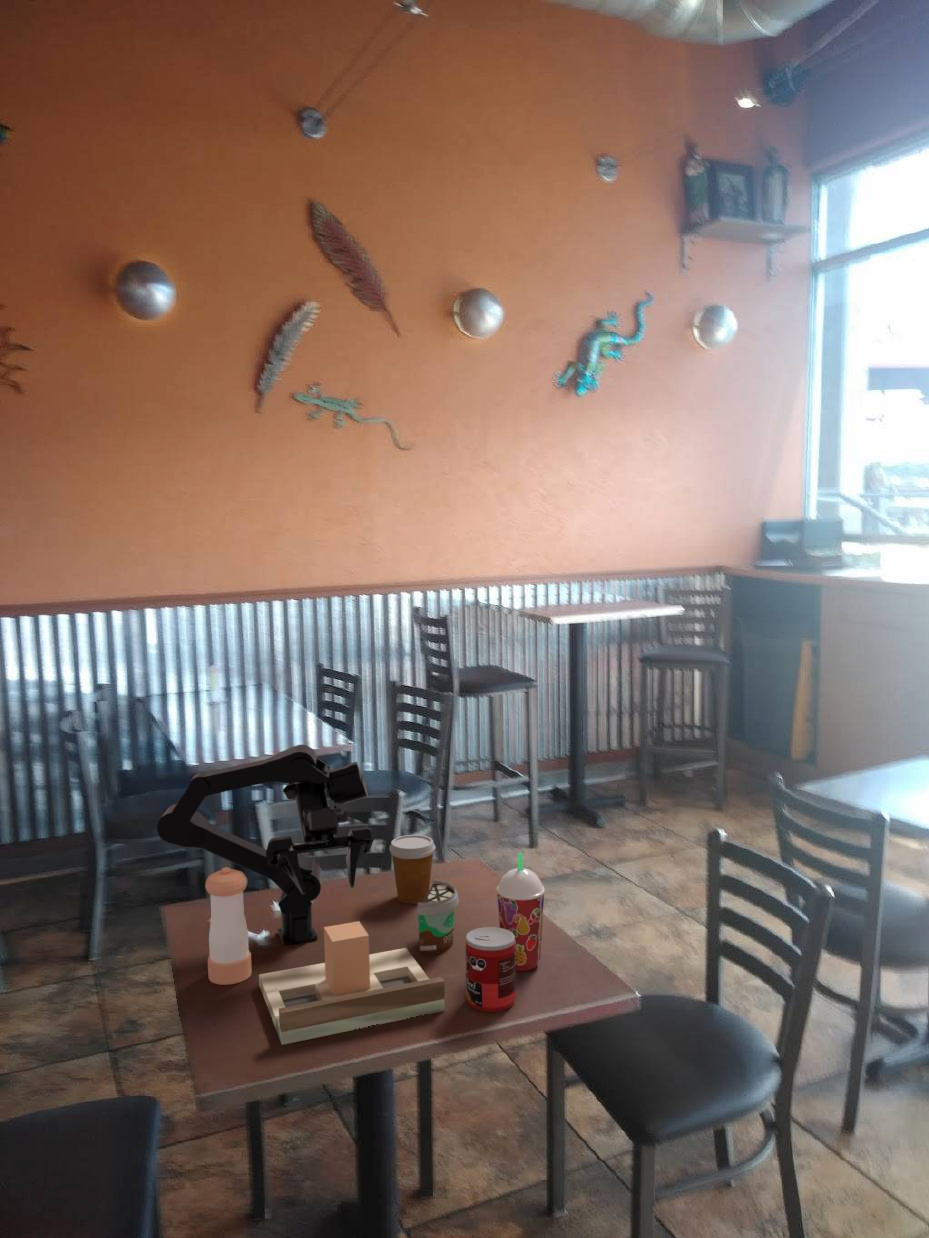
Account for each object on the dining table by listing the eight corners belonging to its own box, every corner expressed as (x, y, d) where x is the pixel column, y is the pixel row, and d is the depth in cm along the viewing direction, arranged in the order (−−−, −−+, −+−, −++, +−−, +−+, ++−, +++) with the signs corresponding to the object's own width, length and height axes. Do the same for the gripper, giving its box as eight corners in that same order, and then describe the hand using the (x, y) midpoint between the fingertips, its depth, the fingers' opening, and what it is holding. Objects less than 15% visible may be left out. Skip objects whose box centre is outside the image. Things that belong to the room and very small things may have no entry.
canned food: (464, 991, 162) (463, 927, 160) (512, 988, 162) (511, 925, 161) (468, 1014, 154) (467, 947, 153) (518, 1011, 155) (518, 945, 153)
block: (325, 979, 162) (323, 927, 161) (360, 972, 164) (359, 921, 163) (334, 995, 157) (332, 941, 156) (370, 988, 159) (368, 935, 158)
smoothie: (551, 958, 173) (551, 849, 171) (535, 978, 165) (534, 865, 163) (508, 950, 176) (507, 843, 174) (490, 969, 169) (488, 858, 167)
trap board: (259, 985, 164) (258, 957, 164) (406, 958, 174) (405, 931, 173) (281, 1044, 146) (280, 1013, 145) (444, 1010, 155) (444, 980, 155)
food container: (451, 960, 173) (450, 906, 172) (418, 957, 174) (416, 903, 173) (465, 931, 185) (464, 880, 184) (433, 929, 186) (433, 878, 185)
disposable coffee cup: (418, 910, 195) (417, 852, 194) (380, 900, 200) (379, 844, 199) (445, 894, 203) (444, 838, 202) (408, 885, 208) (407, 831, 207)
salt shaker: (238, 987, 164) (233, 877, 162) (200, 981, 166) (195, 873, 164) (259, 968, 171) (255, 862, 169) (222, 963, 173) (218, 858, 171)
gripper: (267, 794, 170) (280, 877, 161) (370, 783, 177) (388, 862, 168) (260, 824, 178) (273, 905, 169) (359, 813, 185) (376, 890, 176)
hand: (328, 890), depth 170 cm, fingers open, 8 cm apart
